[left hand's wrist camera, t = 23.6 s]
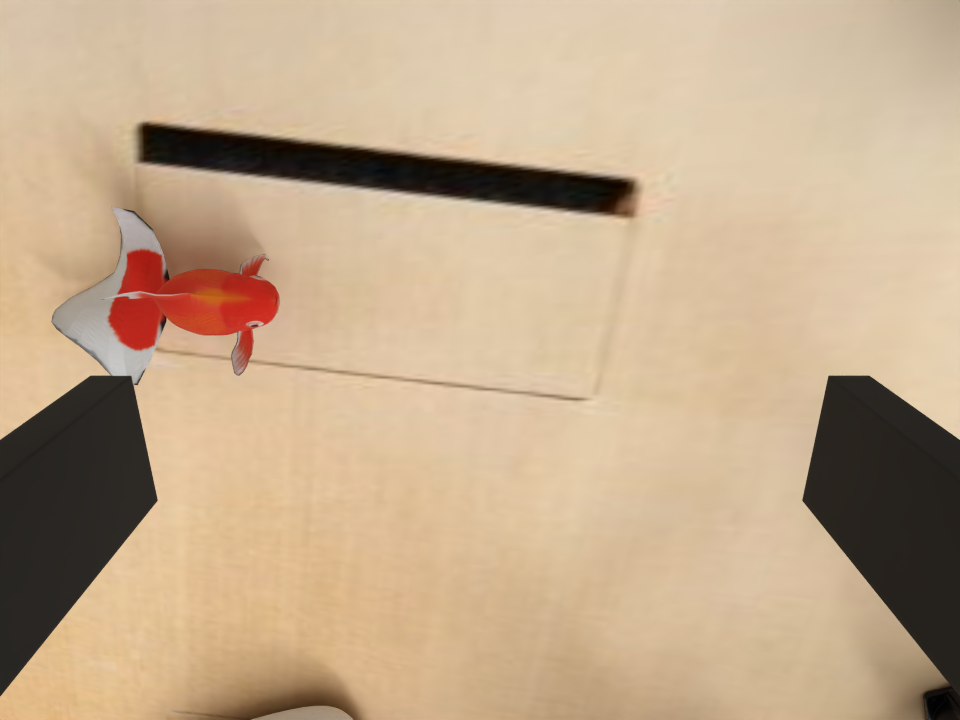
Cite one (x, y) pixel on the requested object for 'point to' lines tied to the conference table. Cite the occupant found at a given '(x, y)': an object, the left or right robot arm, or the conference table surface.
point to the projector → (308, 714)
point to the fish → (163, 304)
